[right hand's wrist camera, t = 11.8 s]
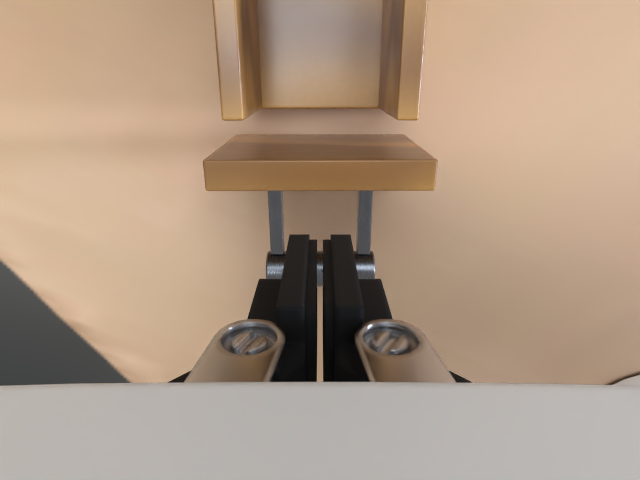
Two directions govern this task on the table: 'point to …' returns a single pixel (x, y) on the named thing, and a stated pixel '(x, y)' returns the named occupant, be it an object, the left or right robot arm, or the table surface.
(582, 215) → the table surface
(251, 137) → the drawer
